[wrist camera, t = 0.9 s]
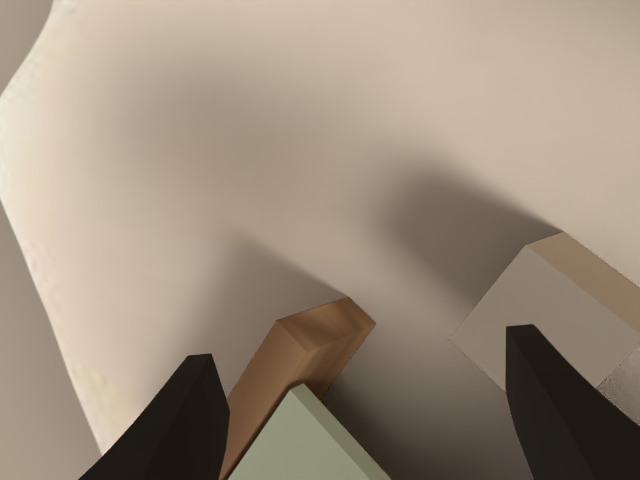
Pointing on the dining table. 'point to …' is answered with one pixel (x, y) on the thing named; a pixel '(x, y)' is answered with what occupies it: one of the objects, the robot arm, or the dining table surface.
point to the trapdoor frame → (291, 368)
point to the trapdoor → (306, 446)
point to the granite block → (556, 310)
